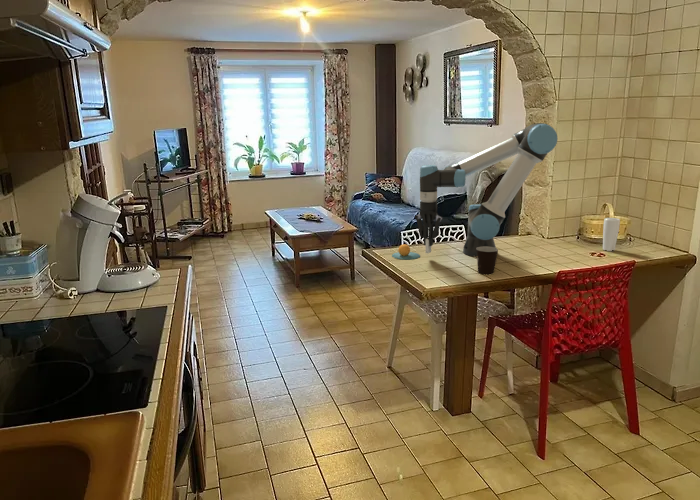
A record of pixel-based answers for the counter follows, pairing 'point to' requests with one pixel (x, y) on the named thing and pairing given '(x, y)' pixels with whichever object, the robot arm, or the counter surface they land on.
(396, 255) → the disc
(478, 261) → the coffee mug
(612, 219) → the white tall block
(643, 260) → the counter surface
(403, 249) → the ball
